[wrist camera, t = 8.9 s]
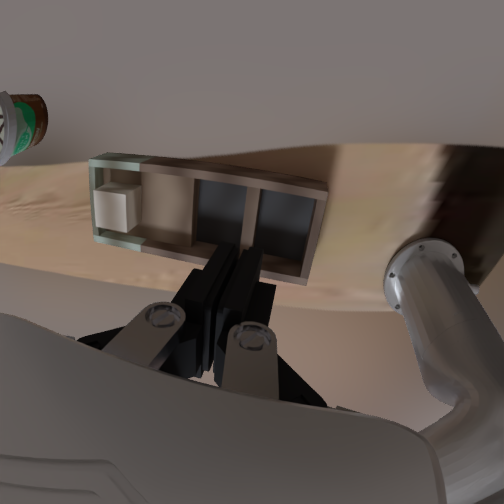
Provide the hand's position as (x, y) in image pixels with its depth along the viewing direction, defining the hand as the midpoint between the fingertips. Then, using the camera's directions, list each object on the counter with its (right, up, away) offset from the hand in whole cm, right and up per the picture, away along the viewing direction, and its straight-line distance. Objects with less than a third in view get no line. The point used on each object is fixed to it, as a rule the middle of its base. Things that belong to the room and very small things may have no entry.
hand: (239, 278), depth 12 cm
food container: (-34, +22, +27) cm, 48 cm away
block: (-16, +8, +27) cm, 33 cm away
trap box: (-6, +7, +28) cm, 30 cm away
